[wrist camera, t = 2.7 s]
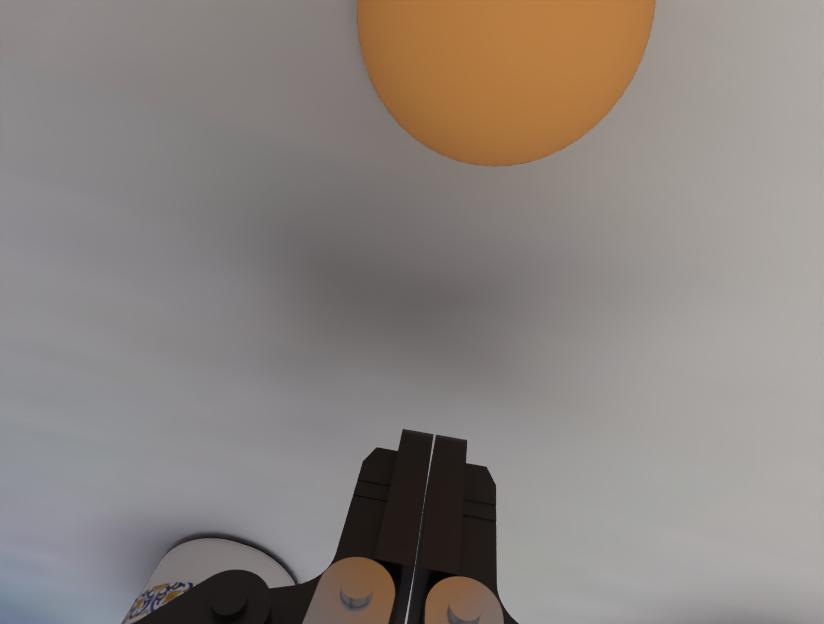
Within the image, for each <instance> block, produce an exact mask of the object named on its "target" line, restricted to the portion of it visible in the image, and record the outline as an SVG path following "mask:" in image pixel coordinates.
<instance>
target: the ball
mask: <svg viewBox="0 0 824 624" xmlns="http://www.w3.org/2000/svg"><path fill="white" fill-rule="evenodd" d="M654 10H655V0H357V23H358V32H359V41H360V46H361V50H362V55H363V59H364V63H365V65H366V68H367V71H368V74H369V77H370V80H371V82H372V84H373V86H374V88H375V90H376V92H377V94H378V96H379V98H380V99H381V101H382V102H383V104H384V105H385V107H386V108H387V110H388V111H389V113H390V114H391V115H392V116H393V117H394V118H395V120H396V121H397V122H398V123H399V124H400V126H401V127H403V128H404V129H405V130H406V131H407V132H408V133H409V134H410V135H411V136H412V137H414V138H415V139H416V140H418V141H419V142H421V143H422V144H424V145H425V146H426V147H428V148H430V149H432V150H434V151H435V152H437V153H439V154H441V155H443V156H446V157H449V158H451V159H454V160H457V161H460V162H465V163H469V164H474V165H483V166H511V165H516V164H522V163H527V162H531V161H534V160H537V159H540V158H543V157H546V156H548V155H551V154H553V153H555V152H557V151H559V150H562V149H563V148H565V147H567V146H568V145H570V144H571V143H573V142H575V141H576V140H578V139H579V138H581V137H582V136H583V135H584V134H586V133H587V132H588V131H590V130H591V129H592V128H593V127H594V126H595V125H596V124H597V123H598V122H599V121H600V120H601V119H602V118H603V117H605V116H606V115H607V114H608V112H609V111H610V110H611V109H612V107H613V106H614V105H615V104H616V102H617V101H618V100H619V99H620V97H621V96H622V94H623V93H624V91H625V90H626V88H627V86H628V85H629V83H630V82H631V80H632V78H633V76H634V74H635V72H636V70H637V68H638V66H639V64H640V62H641V60H642V57H643V54H644V51H645V48H646V45H647V42H648V40H649V36H650V31H651V27H652V22H653V18H654Z"/></svg>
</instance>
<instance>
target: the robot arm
mask: <svg viewBox="0 0 824 624" xmlns="http://www.w3.org/2000/svg"><path fill="white" fill-rule="evenodd" d="M432 441H433V434H429V433H423V432H417V431H412V430H406V429H403V431H402V435H401V440H400V444H399V449H398V451H394V450H389V449H383V448H377V447H376V449H375V450H374V451H373V452H372V453H371V454H370V455H369V456H368V457H367V458H366V459H365V460H364V461H363V463H362V467H361V470H360V473H359V477H358V481H357V484H356V487H355V490H354V494H353V498H352V501H351V504H350V507H349V511H348V514H347V518H346V521H345V525H344V528H343V531H342V535H341V538H340V542H339V545H338V548H337V552H336V555H335V557H334V559H333V561H332V563H331V564H330V566H329V567H328V568H327V569H326V570H325V571H324V572H323V573H322V574H321V575H319V576H318V577H316V578H314V579H312V580H310V581H308V582H305V583H302V584H298V585H292V586H284V587H276V588H269V587H268V585H267V584H266V582H265V581H264V580H263V579H262V578H261V577H260V576H258V575H257V574H255V573H253V572H250V571H246V570H239V569H235V570H227V571H223V572H220V573H217V574H215V575H213V576H211V577H209V578H207V579H206V580H204V581H202V582H201V583H199V584H198V585H196V586H194V587H193V588H191V589H189V590H188V591H186V592H184V593H183V594H181V595H179V596H178V597H176V598H174V599H173V600H171V601H169V602H168V603H166V604H164V605H163V606H161V607H159V608H158V609H156V610H154V611H153V612H151V613H149V614H148V615H146V616H144V617H143V618H141V619H140V620H138V621H136V622H135V623H133V624H404V623H405V618H406V612H407V606H408V601H409V595H410V590H411V584H412V579H413V585H412V592H411V599H410V606H409V613H408V620H407V624H518V623H517V622H516V621H515V620H514V619H513V618H512V617H511V616H510V615H509V613H508V612H507V611H506V610H505V608H504V606H503V604H502V603H501V600H500V598H499V595H498V591H497V564H496V485H495V483H494V481H493V479H492V477H491V475H490V473H489V471H488V469H487V467H484V466H479V465H473V464H467V463H466V452H467V440H464V439H458V438H452V437H447V436H441V435H436V438H435V443H434V449H433V454H432V460H431V466H430V471H429V477H428V470H429V463H430V456H431V449H432ZM427 477H428V483H427ZM426 484H427V489H426ZM425 491H426V495H425ZM424 498H425V501H424ZM423 505H424V508H423ZM422 512H423V514H422ZM421 519H422V522H421ZM420 526H421V529H420ZM419 533H420V536H419ZM418 540H419V543H418ZM417 547H418V550H417ZM416 554H417V557H416ZM415 561H416V564H415ZM414 568H415V571H414ZM413 573H414V578H413Z"/></svg>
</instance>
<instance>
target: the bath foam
mask: <svg viewBox="0 0 824 624" xmlns="http://www.w3.org/2000/svg"><path fill="white" fill-rule="evenodd" d="M235 569H239V570H246V571H250V572H253V573H255V574H257V575H258V576H260V577H261V578H262V579H263V580H264V581H265V582H266V584H267V585H268V587H269V588H276V587H284V586H292V585H295V583H294V581H293V580H292V578H291V577H290V575H289V574H288V573H287V572H286V570H285V569H284V568H283V567H282V566H281V565H280V564H279V563H277V562H276V561H275V560H274V559H272V558H271V557H269V556H268V555H266V554H265V553H263V552H261V551H259V550H257V549H255V548H252V547H250V546H247V545H244V544H241V543H237V542H234V541H230V540H226V539H217V538H204V539H196V540H192V541H188V542H185V543H183V544H180V545H178V546H177V547H175V548H173V549H172V550H171V551H169V552H168V553H167V554H166V555H165V556H164V558H163V559H162V560H161V562H160V563H159V565H158V566H157V568H156V569H155V571H154V573H153V574H152V576H151V578H150V579H149V581H148V582H147V584H146V586H145V587H144V589H143V591H142V592H141V594H140V596H139V597H138V598H137V599H136V601H135V602H134V604H133V605H132V607H131V609H130V610H129V612H128V614H127V615H126V617H125V619H124V620H123V622H122V624H133V623H135V622H136V621H138V620H140V619H141V618H143V617H144V616H146V615H148V614H149V613H151V612H153V611H154V610H156V609H158V608H159V607H161V606H163V605H164V604H166V603H168V602H169V601H171V600H173V599H174V598H176V597H178V596H179V595H181V594H183V593H184V592H186V591H188V590H189V589H191V588H193V587H194V586H196V585H198V584H199V583H201V582H202V581H204V580H206V579H207V578H209V577H211V576H213V575H215V574H217V573H220V572H223V571H227V570H235Z"/></svg>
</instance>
